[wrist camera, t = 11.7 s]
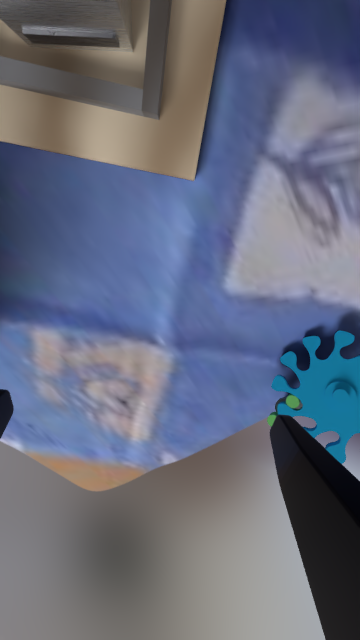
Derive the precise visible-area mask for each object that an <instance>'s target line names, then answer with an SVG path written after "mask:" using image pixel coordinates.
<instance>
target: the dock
mask: <svg viewBox="0 0 360 640" xmlns="http://www.w3.org/2000/svg"><path fill="white" fill-rule="evenodd" d="M225 5H226V0H131V12H132V37H133V52H118V51H98V50H77V49H56V48H36V47H29V46H28V45H27V44H26V43H25V42H24V41H23V40H22V39H21V38H20V37H19V36H18V35H17V34H16V33H15V32H14V31H13V30H12V29H11V28H10V27H8V26H7V25H6V24H5V23H4V22H3V21H2V20H1V19H0V141H1V142H6V143H11V144H16V145H21V146H26V147H30V148H35V149H40V150H45V151H50V152H55V153H60V154H65V155H70V156H74V157H79V158H84V159H89V160H94V161H99V162H104V163H109V164H114V165H118V166H123V167H128V168H133V169H138V170H143V171H148V172H153V173H158V174H162V175H167V176H172V177H177V178H182V179H187V180H192V181H194V179H195V174H196V168H197V162H198V157H199V151H200V146H201V140H202V134H203V129H204V123H205V117H206V112H207V106H208V101H209V95H210V89H211V84H212V78H213V72H214V67H215V61H216V55H217V50H218V44H219V39H220V33H221V27H222V22H223V16H224V10H225Z"/></svg>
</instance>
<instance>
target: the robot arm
mask: <svg viewBox="0 0 360 640" xmlns="http://www.w3.org/2000/svg"><path fill="white" fill-rule="evenodd" d="M12 414H13V404H12V400H11V396H10V393H9V391H8V390H3V389H0V438H1V436H2V434H3V432H4V430H5V428H6V426H7V424H8V422H9V420H10V418H11V416H12ZM270 438H271V444H272V449H273V454H274V459H275V465H276V470H277V475H278V479H279V483H280V487H281V491H282V494H283V498H284V501H285V504H286V508H287V511H288V514H289V518H290V521H291V524H292V528H293V531H294V535H295V538H296V541H297V545H298V548H299V551H300V555H301V558H302V562H303V565H304V568H305V572H306V575H307V578H308V582H309V585H310V588H311V592H312V595H313V598H314V601H315V605H316V609H317V612H318V615H319V618H320V622H321V625H322V629H323V632H324V635H325V639H326V640H360V481H359V480H358V479H356V477H355V476H353V475H352V474H351V473H350V472H349V471H348V470H347V469H346V468H345V467H344V466H343V465H342V464H341V463H340V462H339V461H338V460H337V459H336V458H335V457H333V456H332V455H331V454H330V453H329V452H328V451H327V450H326V449H325V448H324V447H323V446H322V445H321V444H320V443H319V442H318V441H317V440H316V439H315V438H313V437H312V436H311V435H310V434H309V433H308V432H307V431H306V430H305V429H304V428H303V427H302V426H301V425H300V424H299V423H298V422H297V421H296V420H295V419H293V418H292V417H291V416H289V415H281V414H279V415H277V416H276V418H275V420H274V423H273V425H272V427H271V429H270Z"/></svg>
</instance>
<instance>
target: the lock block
mask: <svg viewBox="0 0 360 640" xmlns="http://www.w3.org/2000/svg"><path fill="white" fill-rule="evenodd" d="M0 19H1V20H2V21H3V22H4V23H5V24H6V25H7V26H8V27H10V28H11V29H12V30H13V31H14V32H15V33H16V34H17V35H18V36H19V37H20V38H21V39H22V40H23V41H24V42H25V43H26V44H27V45H28V46H29V47H36V48H56V49H77V50H98V51H118V52H133V37H132V12H131V0H0Z"/></svg>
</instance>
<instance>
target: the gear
mask: <svg viewBox="0 0 360 640" xmlns="http://www.w3.org/2000/svg"><path fill="white" fill-rule="evenodd" d="M354 339H355V336H354V335H352V334H351V333H348V332H345V331H340V330H339V331H337V332H336V333H335V335H334V341H335V345H334V349H333V351H332V353H331V354H330V356H329V357H328V358H327V359H325V360H320V359H318V358H317V357H316V356H315V351H316V349H317V348H318V347H319V345H320V343H321V341H320V338H319V337H318V336H309V337H305V338H303V344H304V346H305V347H306V348H307V350H308V352H309V354H310V367H309V369H308V370H305V371H303V370H300V369H299V368H298V367H297V356H296V354H295V353H294V352H292V351H290V352H287V353H286V354H284V355H283V356H282V357H281V358H280V361H281V362H282V364H284V365H286V366H288V367H289V368H291V369H292V370H293V371H294V372H295V373H296V375H297V377H298V378H299V381H300V386H299V387H298V388H292V387H290V386H289V384H288V382H287V380H286V378H285V377H283V376H281V375H277V376H276V377H275V378H274V380H273V383H272V386H271V387H272V388H273V389H274V390H276V391H284V392H288V393H291V394H289V395H288V396H287V397H283V398H281V399H279V400H278V401H277V402H276V404H275V409H276V412H272V413H271V414H270V415H269V417H268V419H267V422H268V424H269V425H270V426H271V427H272V425H273V423H274V420H275V418H276V416H277V415H279V414H281V415H289V416H291V417H294V416H305V417H309V418H312V419H314V420H315V421H316V423H317V425H316V427H315V428H306V427H303V428H304V429H305V430H306V431H307V432H308V433H309V434H310V435H311V436H312V437H313V438H315V437H316V436H317V435H319V434H320V433H323V432H327V431H335V432H337V433H338V434H339V436H340V437H339V440H338V441H336V442H331V443H328V444H327V445H326V447H325V449H326V450H327V451H328V452H329V453H330V454H331V455H332V456H333V457H335V458H336V459H337V460H338V461H339V462H340V463H341V464H342V463H344V462H345V460H346V455H345V446H346V444H347V442H348V440H349V439H350V438H351V436H353V435H354V434H356V433H360V355H359V356H356V357H354V358H351V359H344V358H342V357H341V355H340V349H341V348H342V347H345V346H347V345H350V344H351V343H353V341H354Z"/></svg>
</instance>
